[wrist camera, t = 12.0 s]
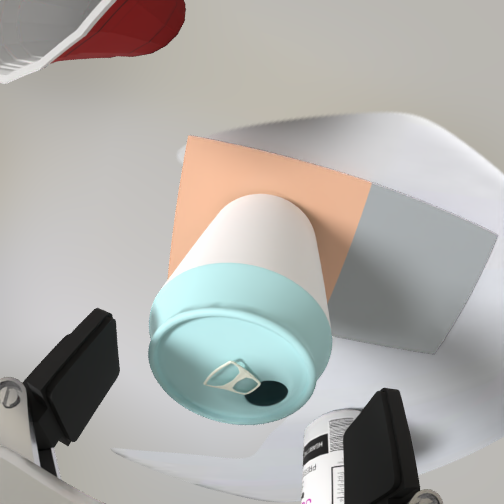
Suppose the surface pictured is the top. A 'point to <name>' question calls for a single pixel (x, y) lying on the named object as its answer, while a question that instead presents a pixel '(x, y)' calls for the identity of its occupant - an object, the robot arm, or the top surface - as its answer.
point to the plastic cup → (82, 31)
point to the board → (348, 241)
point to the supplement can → (325, 458)
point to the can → (244, 316)
